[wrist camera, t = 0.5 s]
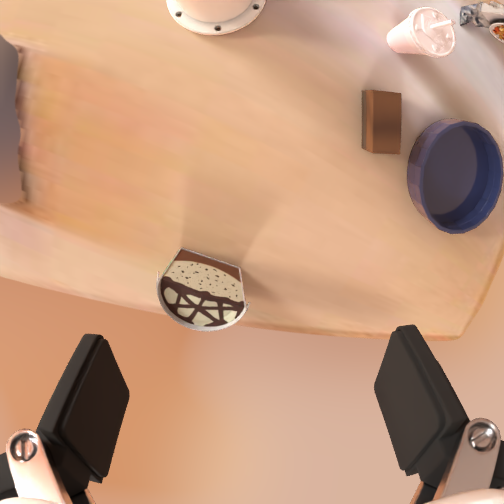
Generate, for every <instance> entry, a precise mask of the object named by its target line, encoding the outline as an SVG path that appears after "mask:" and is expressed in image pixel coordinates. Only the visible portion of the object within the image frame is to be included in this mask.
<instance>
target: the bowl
mask: <svg viewBox="0 0 504 504" xmlns="http://www.w3.org/2000/svg"><path fill="white" fill-rule="evenodd" d="M502 181H503V162H502V156H501V153H500V150H499V147H498V145H497V143H496V141H495V140H494V138H493V137H492V136H491V134H490V133H489V131H487V130H486V129H484V128H483V127H482V126H480V125H479V124H477V123H473V122H468V121H464V120H458V119H453V118H450V119H443V120H439V121H437V122H435V123H433V124H432V125H430V126H429V127H428V128H426V129H425V130H424V131H423V132H422V134H421V135H420V136H419V138H418V139H417V141H416V142H415V144H414V146H413V148H412V151H411V154H410V157H409V162H408V168H407V183H408V189H409V193H410V197H411V199H412V201H413V204H414V205H415V207H416V209H417V210H418V211H419V212H420V213H421V214H422V215H423V216H424V217H425V218H426V219H427V220H428V221H429V222H430V223H432V224H433V225H434V226H435V227H437V228H438V229H439V230H442V231H444V232H447V233H450V234H461V233H465V232H468V231H470V230H472V229H475V228H476V227H478V226H479V225H480V224H481V223H482V222H483V221H484V220H486V218H487V217H488V216H489V214H490V213H491V212H492V210H493V209H494V207H495V205H496V203H497V200H498V198H499V195H500V192H501V188H502Z"/></svg>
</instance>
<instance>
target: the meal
mask: <svg viewBox="0 0 504 504" xmlns="http://www.w3.org/2000/svg"><path fill="white" fill-rule="evenodd" d="M469 22H473V23H474V24H475V25H476V26H477V27H487V28H489V30H490V32H491V34H492V35H493V36H494V37H495V38H497V39H498V40H499V41H501V42H503V43H504V5H502V4H499V3H496V2H493V1H491V2H490V4H489V5H488V4H487V3H483V2H481V3H477V4H474V5H468V6H464V7H462V8H461V12H460V26H461V25H464V24H467V23H469ZM493 32H494V33H493ZM498 36H499V37H498ZM499 38H500V39H499ZM501 39H502V40H501Z"/></svg>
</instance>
